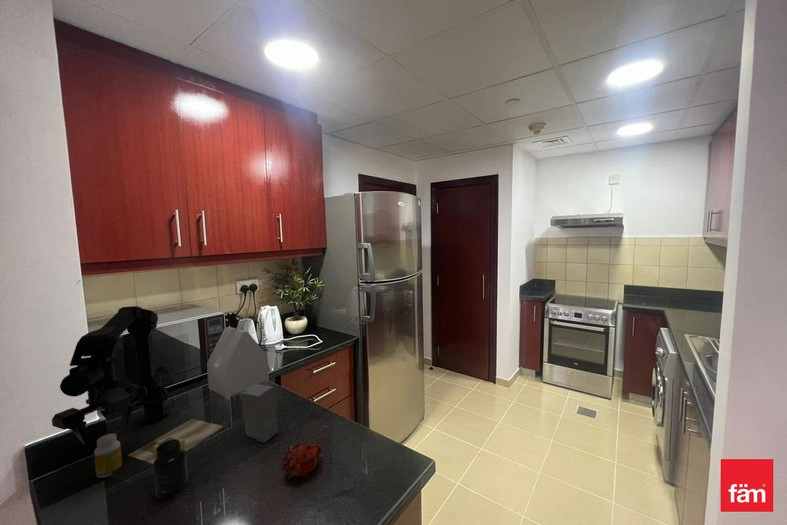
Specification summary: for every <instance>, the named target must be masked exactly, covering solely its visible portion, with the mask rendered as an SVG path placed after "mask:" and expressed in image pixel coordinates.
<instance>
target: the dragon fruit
mask: <svg viewBox="0 0 787 525" xmlns="http://www.w3.org/2000/svg"><path fill="white" fill-rule="evenodd" d="M321 450H322V449H321V447H320V446H319V444H318V443H312V444H310V443H309V442H307V441H305V442H304V443H302V444H300V443H298V444H297V443H296V444H295V446H294V447H288V448H287V451H286V452H285V453H284V456H283V458H282V463H281V464H282V467H283V468H282V469H281V470H282V471H283V472H284V473H285V479H290V478H295V479H297V478H298V477H302V478H305V479H307V478H308V477H309V476H308V475H309V473H310V472H312V471H314V470H315V467H317V464H318V462H319V460H320V459H321V457H320V455H321ZM287 473H288V474H287Z"/></svg>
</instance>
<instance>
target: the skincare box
mask: <svg viewBox="0 0 787 525" xmlns="http://www.w3.org/2000/svg"><path fill="white" fill-rule="evenodd" d="M239 394H240V400H241V408H242V414H243V415H242V416H243V423H244V432H245V436H247V437H249V438H252V439H255V441H257V442H259V443H264V444H265V443H266V442H267V441H269V440H270V439H271V438H272V437H274V436H275V435H276V434H278V433H279V431H280V430H279V424H278V415H277V409H276V408H277V407H276V400H275V392H274V386H270V385H266V384H265V385H264V384H255V385H253V386H251V387H249V388H248V389H246V390H244V391H242V392H239Z"/></svg>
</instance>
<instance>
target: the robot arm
mask: <svg viewBox="0 0 787 525" xmlns="http://www.w3.org/2000/svg"><path fill="white" fill-rule="evenodd" d="M158 321H159V318H158V314H157V313H156V312H154V311H153V310H151V309H145V308H142V307H141V306H137V305H135V306H133V305H132V306H131V305H130V306H122V307H120V308H118V310H117V312H116V313H115V314H114V315H113V316H112V317H111V318H110V319H109V320H108V321H107V322H105V324H104V325H102V326H101V327H100V328H99V329H98V328H97V329H94V330H92V331H89V332H87V333H85V334H84V335H82V336H81V337H80V338H79V340H78V341H77V343H76V345H75V348H74V351H73V355H72V357H71V360H70V363H69V366H70V369H69V370H68V372H69V374H67V375H66V376H65V377H64V378H63V379H61V382H60V384H59V389H60V391H61V393H63V394H64V395H66V396H68V397H79V396H81V395H83V394H85V393H86V392H87V399H85V404H86V405H87V406H85V407H83V408H81V409H79V408H76V407H75V408H74V407H71V408H69V409H66V410H63V411H60V412H58V413H55V414H54V416H52V418H51V426H52V427H54V428H57V429H61V430H64V431H65V430H69V431H71V432H72V433H73V434H74V435H75V436H76V437H77V438H78V440H79V441H80V442H81V443H82V445H84V446H86V445H88V435H87V431H86V425H87V421H85V420H86V415H90V414H92V413H94V412H96V411H99V410H102V409H104V410H105V411H106V412H107V413H109V414H114V413H116V412H118V411H119V410H120V413H121V420H122V423H123V425H124V426H127V425H128V424H129V421H130V418H131V414H132V412H133V409H134V408H138V407H141V410H142V417H141V418H139V419H138V423H139V422H140V423H144V424H147V425H151V424H154V423H155V422H157V421H159V420H161V419H163V418H165V417H167V416H168V415H169V413H168V412H164V402H166V401H168V400H169V390H168V389H167V388H166V387H165V386H164V384H163V380H162V379H161V377H160V376H158V374H156V367H155V366H156V363H155V354H154V342H153V334H154V332H155V331H156V328H157V327H158V325H157V324H158ZM126 330H127V331H126ZM125 331H126V332H127V333H128V334H129V335H130V336H131V337H132V338H133V339H134V346H135V347H134V349H135V356H136V365H137V366H136V367H137V377H138V379H137V381H136V383H133V384H130V385H127V386H124V387H122V386H121V385H120V381H119V379H116V372H115V371H116V369H115V360H114V359H115V358H116V357H117V354H116V351H117V349H118V346H119V345H120V340H119V338H120V336H121V335H122V334H123V333H124V332H125Z"/></svg>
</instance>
